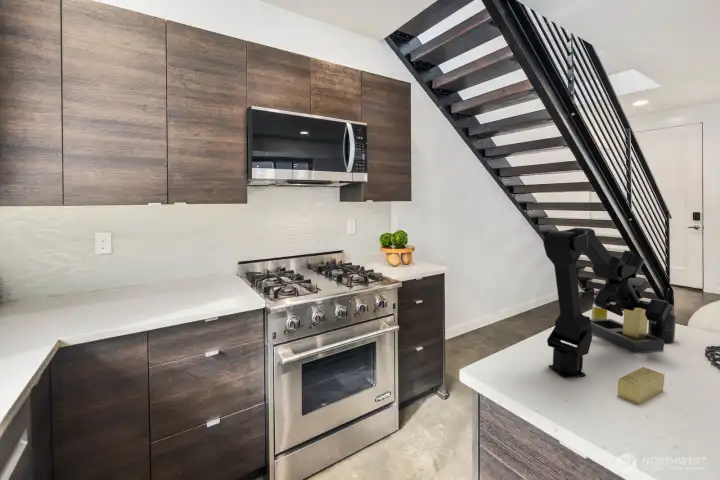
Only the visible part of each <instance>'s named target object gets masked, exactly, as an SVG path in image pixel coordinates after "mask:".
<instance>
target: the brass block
mask: <svg viewBox="0 0 720 480" xmlns="http://www.w3.org/2000/svg"><path fill="white" fill-rule="evenodd" d="M645 311H646V310H645V309H640V308H635V309H634V311H631V310H626V309H623V321H622V322H623V323H622V324H623V336H625V337H628V338H630V339H632V340H635V341H636V340H646V334H647V333H648V322H649V321H648V320H647V317H646V316H645Z"/></svg>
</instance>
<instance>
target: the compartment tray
mask: <svg viewBox="0 0 720 480" xmlns="http://www.w3.org/2000/svg"><path fill="white" fill-rule="evenodd" d="M591 328H592V331H591V333H592V336H593V335H594V336H595V337H597V338H600V340H601V339H602V340H603V341H604V340H605V341H606V342H608V343H610V344H612V345H614V346H617V347H618V348H621V349H623V350H625V351H627V352H628V353H631V354H643V353H645V354H646V353H655V352H664V349H665V347H664V346H665V343H664V340H663V339H660V338H658V337H655V336H653V335H650V334H648V332H647V334H646V340H636V341H635V340H632V339H630V338H628V337H625V336H623V323H622V322H620V321H617V320H614V319H611V318H607V319H603V320H592V319H591Z"/></svg>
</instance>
